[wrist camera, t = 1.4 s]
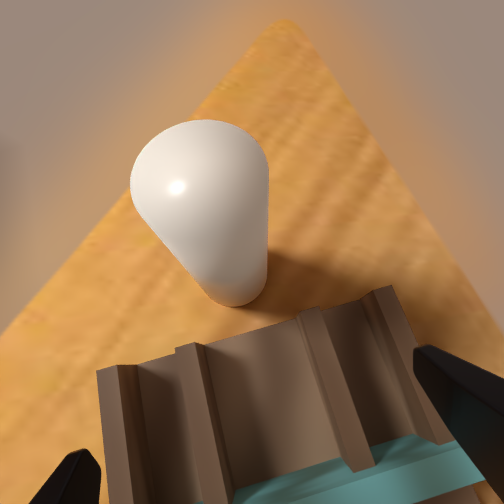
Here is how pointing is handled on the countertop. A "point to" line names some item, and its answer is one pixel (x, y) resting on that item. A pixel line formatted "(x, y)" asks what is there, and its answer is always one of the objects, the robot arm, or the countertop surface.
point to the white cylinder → (208, 205)
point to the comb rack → (284, 418)
